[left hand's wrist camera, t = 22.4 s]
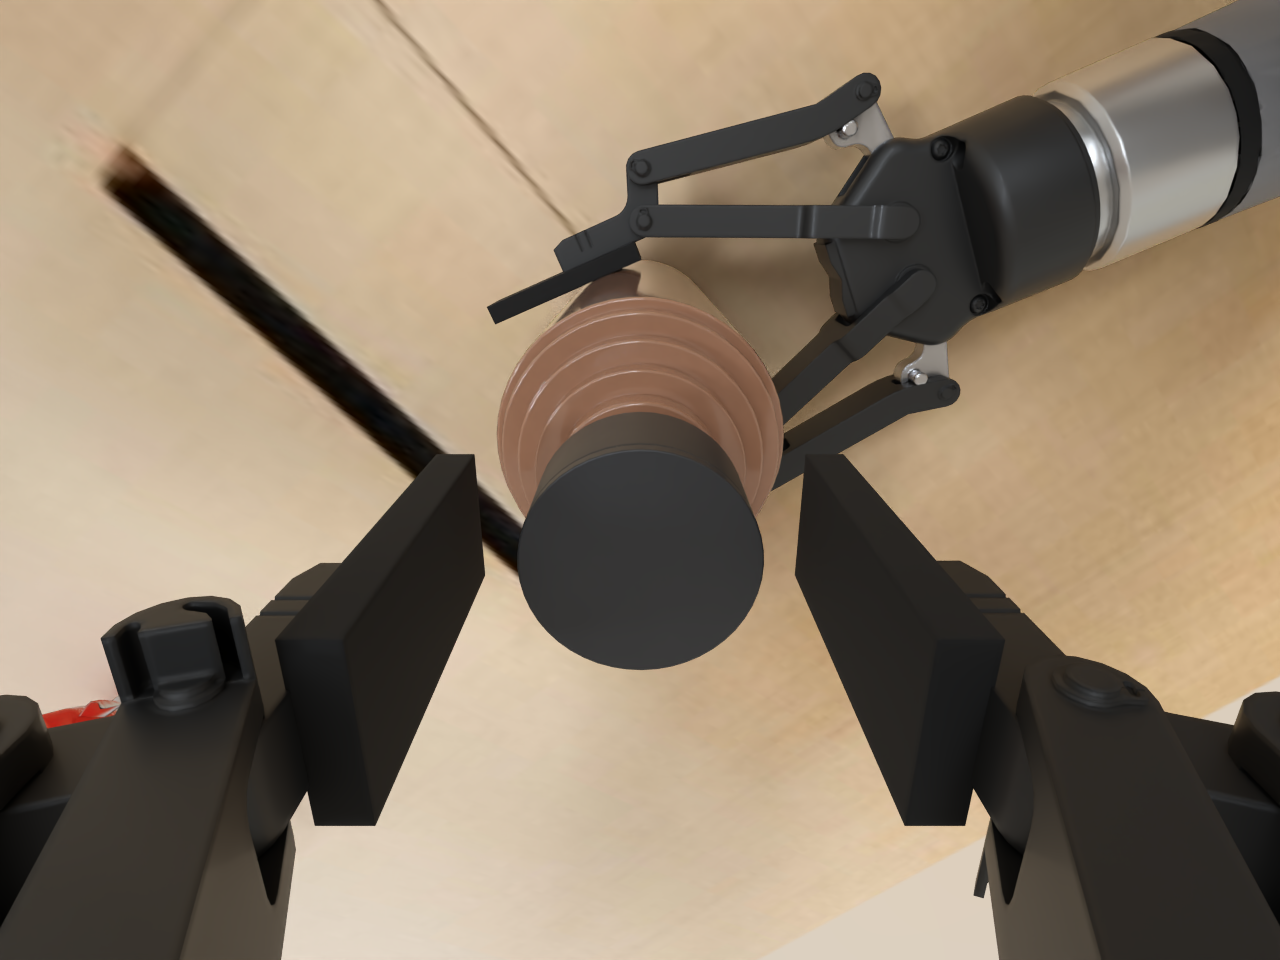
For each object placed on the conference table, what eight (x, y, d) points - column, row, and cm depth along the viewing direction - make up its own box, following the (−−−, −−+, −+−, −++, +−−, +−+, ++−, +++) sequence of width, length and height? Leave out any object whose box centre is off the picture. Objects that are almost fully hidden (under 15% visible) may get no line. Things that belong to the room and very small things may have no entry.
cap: (573, 622, 15) (561, 693, 13) (507, 442, 14) (481, 487, 12) (763, 575, 15) (786, 640, 13) (717, 385, 14) (733, 419, 11)
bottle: (646, 439, 38) (655, 781, 15) (534, 344, 36) (345, 565, 13) (746, 331, 36) (940, 532, 13) (633, 225, 34) (619, 232, 11)
